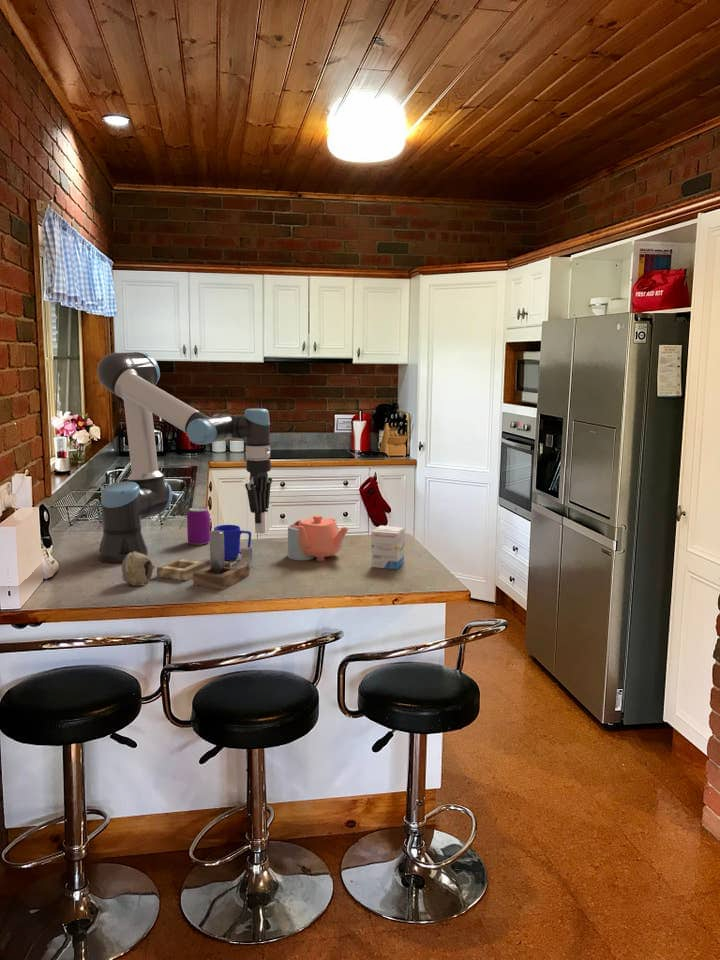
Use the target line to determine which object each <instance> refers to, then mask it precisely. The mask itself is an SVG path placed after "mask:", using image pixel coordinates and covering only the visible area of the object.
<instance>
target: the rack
mask: <svg viewBox="0 0 720 960" xmlns="http://www.w3.org/2000/svg"><path fill="white" fill-rule="evenodd" d="M205 567H206V562H205V561H199V560H191V559H186V558H185V559H184V558H178V557H177V558H175V559H173V560H169V561H167V562H165V563H163V564H161V565H158V566H157V567H156V577H157V576H160V577H159V578H162V577H167V578H166V579H168V578H173V579H172V580H175V579H179V580H178V581H181V580H185V581H184V582H187V581H189V580H191V579H193V578H192V577H193V573H194V572H197V571H199V570H201V569H203V568H205ZM186 580H187V581H186Z"/></svg>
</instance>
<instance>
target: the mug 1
mask: <svg viewBox="0 0 720 960" xmlns="http://www.w3.org/2000/svg"><path fill="white" fill-rule="evenodd" d="M214 530H221V531H224V561H231V560H235V559H236V558H238V556H239V554H240V555H241V535H242V534H248V540H247V541H248V543H247V547H249V548H251V543H252V542H251V541H252V531H249V530H242V529H241V527H240V526H238V525H236V524H222V525H217V526H215V527H214V528H213V531H214Z"/></svg>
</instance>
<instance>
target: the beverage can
mask: <svg viewBox="0 0 720 960" xmlns="http://www.w3.org/2000/svg"><path fill="white" fill-rule="evenodd" d="M186 520H187V521H186V522H187V523H186V525H187V526H186V528H187V542H188V543H189V544H190V545H192V546H204V545H203V544H205V545H207V544H209V543H210V531H211V517H210V512H209V510H208V508H207V507H205V506H194V507H191V508H189V509H188V512H187V514H186ZM208 542H209V543H208ZM206 543H207V544H206Z"/></svg>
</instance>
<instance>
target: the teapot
mask: <svg viewBox="0 0 720 960" xmlns="http://www.w3.org/2000/svg"><path fill="white" fill-rule="evenodd" d="M298 523H299V525H298V526H297V528H299V543H300V545H301V551H302V552H303V553H304V555H308V556H315V557H316V562H325V561H326V558H325V557H336V556H337V555H336V554H337V553H338V552H340V549H341V547H342V544H343V540H344V538H345V537H346V534H347V532H348V530H349V528H348V527H345V526H342V527H341V529H339V526H338V524H337V522H336V519H335V518H333V517H329V518H323V516H322V515H319V514H318V515H313V516H312V517H310V518H306V519H298V520H296V521H295V522H294V523H293V524H298ZM305 529H306V531H305Z"/></svg>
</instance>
